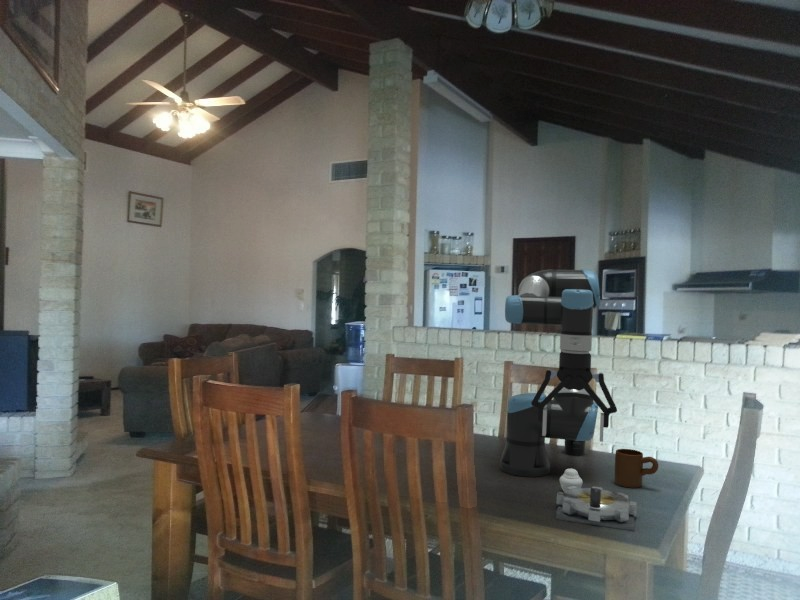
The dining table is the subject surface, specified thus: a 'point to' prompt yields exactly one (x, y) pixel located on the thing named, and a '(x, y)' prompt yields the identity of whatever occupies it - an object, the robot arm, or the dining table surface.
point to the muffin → (570, 479)
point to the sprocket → (596, 504)
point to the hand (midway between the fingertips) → (572, 437)
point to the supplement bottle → (574, 447)
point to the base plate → (607, 523)
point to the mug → (632, 467)
